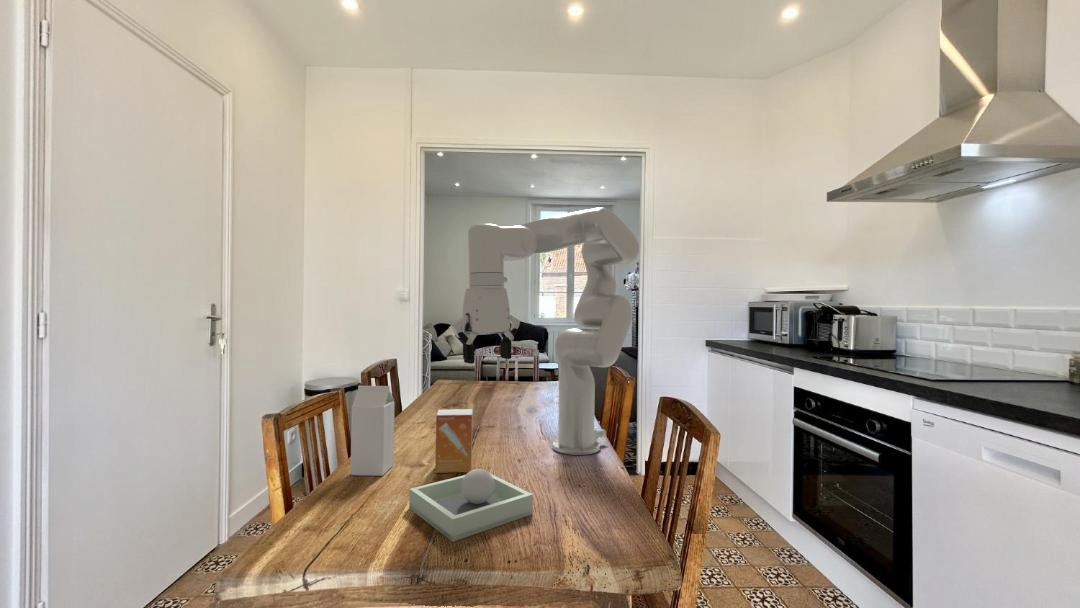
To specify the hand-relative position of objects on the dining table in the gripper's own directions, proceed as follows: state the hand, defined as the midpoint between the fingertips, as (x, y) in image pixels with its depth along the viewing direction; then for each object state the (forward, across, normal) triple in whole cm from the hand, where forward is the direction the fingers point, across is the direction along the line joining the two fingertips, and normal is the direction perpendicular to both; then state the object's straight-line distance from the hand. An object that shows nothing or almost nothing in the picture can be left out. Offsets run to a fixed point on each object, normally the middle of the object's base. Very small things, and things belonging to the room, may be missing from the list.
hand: (488, 360), depth 101 cm
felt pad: (+25, +13, +12) cm, 31 cm away
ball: (+21, +11, +12) cm, 27 cm away
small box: (+26, +3, -10) cm, 27 cm away
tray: (+25, +13, +12) cm, 31 cm away
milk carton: (+25, +18, -20) cm, 37 cm away
